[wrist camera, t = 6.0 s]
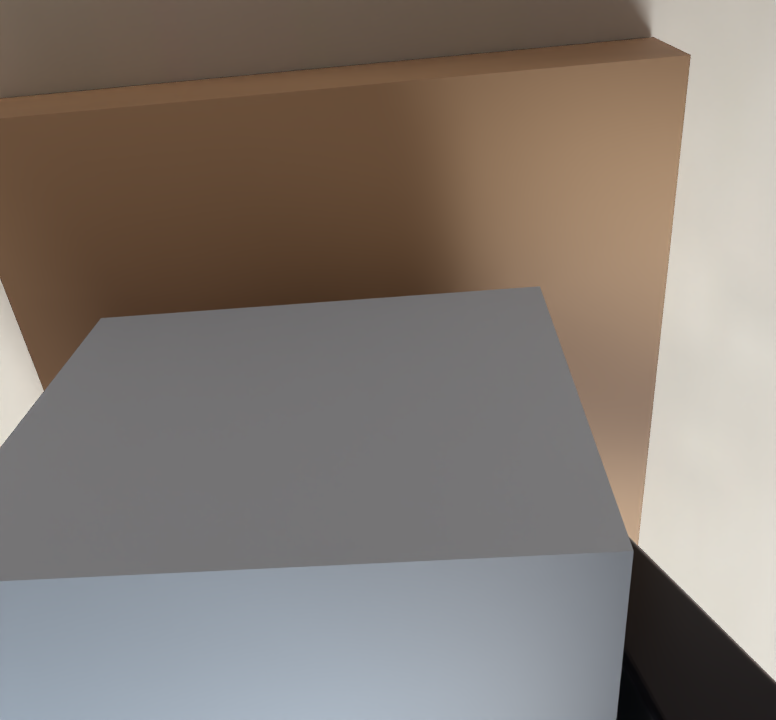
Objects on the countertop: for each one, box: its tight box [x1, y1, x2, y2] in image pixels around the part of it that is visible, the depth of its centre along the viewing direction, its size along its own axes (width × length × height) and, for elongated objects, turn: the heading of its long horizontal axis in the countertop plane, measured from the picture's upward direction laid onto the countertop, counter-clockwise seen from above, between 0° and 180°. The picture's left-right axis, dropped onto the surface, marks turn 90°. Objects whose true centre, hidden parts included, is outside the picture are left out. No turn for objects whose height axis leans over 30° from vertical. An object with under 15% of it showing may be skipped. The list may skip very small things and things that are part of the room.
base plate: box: [0, 37, 691, 545], centre depth 12 cm, size 9×9×2 cm
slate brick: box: [0, 286, 634, 720], centre depth 8 cm, size 5×5×4 cm
